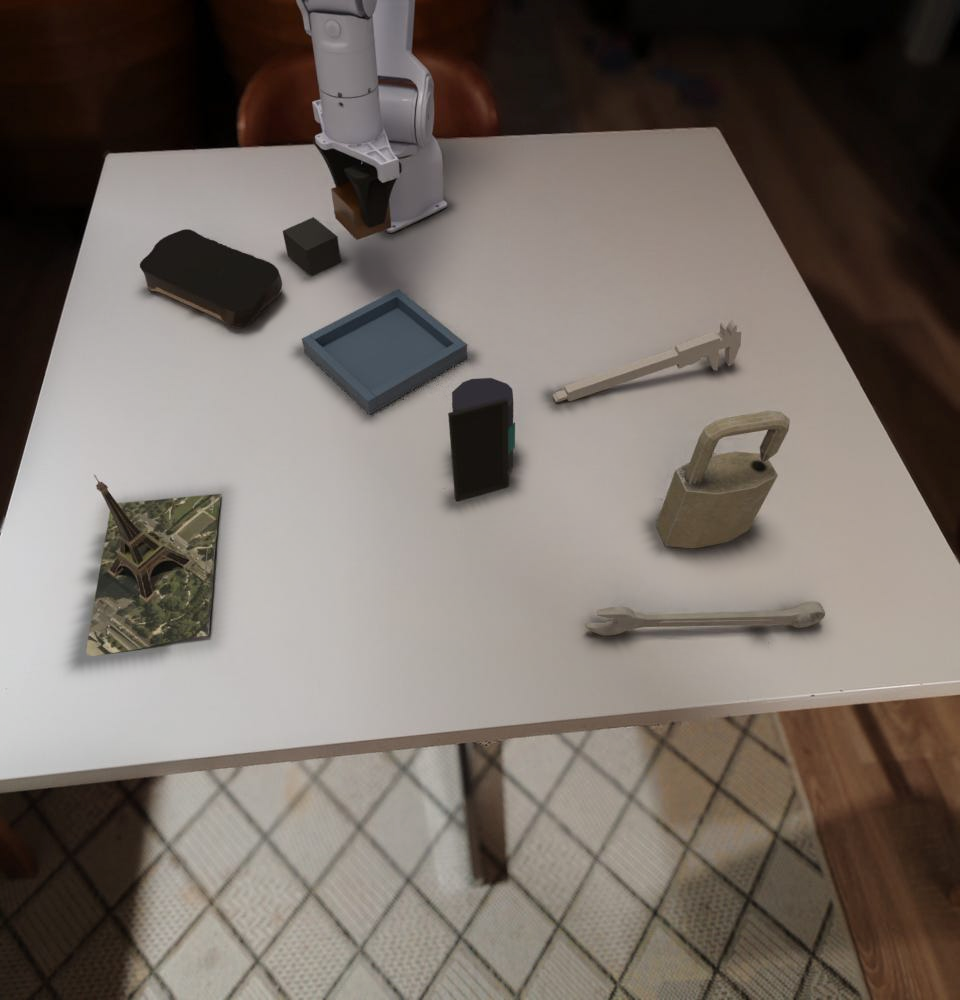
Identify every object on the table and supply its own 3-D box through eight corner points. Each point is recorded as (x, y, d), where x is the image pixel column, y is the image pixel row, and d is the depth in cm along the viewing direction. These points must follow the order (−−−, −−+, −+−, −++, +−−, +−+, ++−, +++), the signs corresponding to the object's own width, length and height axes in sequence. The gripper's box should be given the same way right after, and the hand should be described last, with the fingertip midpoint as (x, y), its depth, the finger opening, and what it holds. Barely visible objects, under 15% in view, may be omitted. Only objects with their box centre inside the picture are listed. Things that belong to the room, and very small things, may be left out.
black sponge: (294, 295, 89) (288, 269, 86) (245, 337, 85) (237, 311, 82) (189, 250, 94) (180, 223, 91) (137, 288, 89) (126, 261, 86)
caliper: (727, 360, 84) (744, 315, 79) (732, 367, 83) (749, 322, 78) (552, 397, 80) (558, 352, 75) (555, 405, 80) (562, 360, 75)
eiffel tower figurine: (213, 641, 63) (162, 554, 52) (84, 657, 62) (6, 571, 51) (221, 496, 72) (180, 396, 61) (109, 508, 71) (46, 408, 60)
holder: (399, 302, 89) (398, 288, 87) (467, 358, 84) (467, 344, 82) (304, 352, 84) (301, 338, 82) (369, 414, 78) (367, 401, 77)
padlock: (752, 537, 70) (812, 428, 58) (668, 553, 69) (711, 444, 57) (734, 503, 72) (788, 391, 60) (652, 518, 71) (691, 406, 59)
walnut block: (369, 206, 88) (366, 176, 85) (391, 227, 85) (389, 198, 83) (335, 218, 86) (330, 188, 83) (356, 240, 84) (352, 210, 81)
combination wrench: (830, 596, 63) (588, 600, 62) (835, 610, 62) (590, 615, 61) (812, 617, 66) (581, 622, 65) (816, 631, 65) (583, 636, 64)
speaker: (516, 501, 72) (516, 417, 64) (454, 502, 72) (447, 419, 64) (514, 444, 77) (514, 361, 69) (456, 445, 77) (450, 362, 69)
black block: (318, 242, 95) (313, 216, 92) (341, 261, 93) (337, 236, 90) (287, 256, 93) (282, 230, 91) (310, 276, 91) (305, 250, 88)
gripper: (277, 64, 76) (300, 190, 87) (347, 128, 69) (363, 256, 80) (340, 47, 79) (355, 172, 89) (414, 107, 72) (420, 235, 82)
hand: (362, 211), depth 85 cm, fingers closed on walnut block, 5 cm apart
